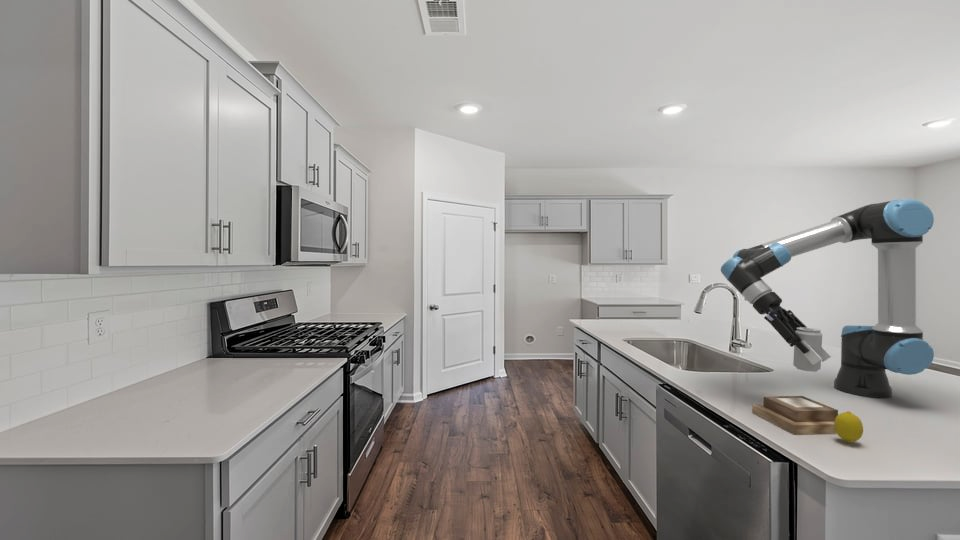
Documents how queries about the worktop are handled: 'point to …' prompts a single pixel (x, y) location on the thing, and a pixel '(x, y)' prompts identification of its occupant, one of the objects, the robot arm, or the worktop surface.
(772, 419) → the pedestal
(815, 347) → the beverage can
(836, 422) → the lemon
